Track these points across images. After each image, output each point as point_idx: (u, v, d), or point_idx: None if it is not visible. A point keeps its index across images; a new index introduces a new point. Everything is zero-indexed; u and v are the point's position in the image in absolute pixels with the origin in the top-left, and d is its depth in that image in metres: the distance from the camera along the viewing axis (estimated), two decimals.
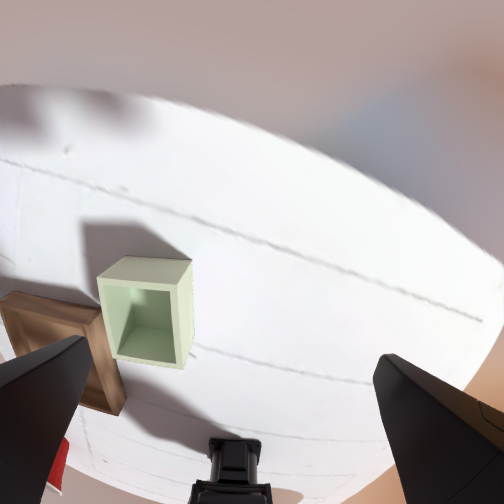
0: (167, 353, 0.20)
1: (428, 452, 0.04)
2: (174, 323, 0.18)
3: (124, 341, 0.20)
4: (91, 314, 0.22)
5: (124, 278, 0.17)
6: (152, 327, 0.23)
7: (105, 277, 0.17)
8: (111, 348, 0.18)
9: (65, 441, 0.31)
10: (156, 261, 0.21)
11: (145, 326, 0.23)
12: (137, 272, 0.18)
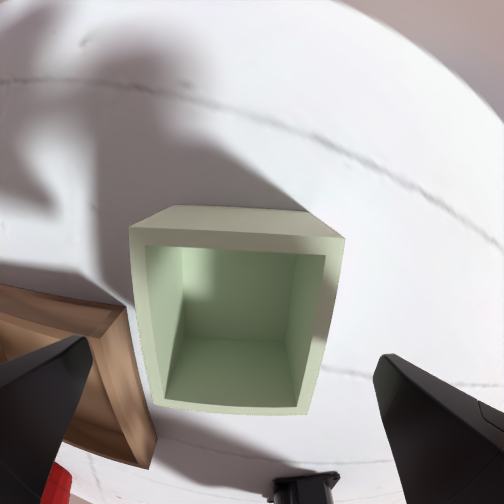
0: (268, 387, 0.10)
1: (428, 452, 0.04)
2: (318, 329, 0.08)
3: (173, 369, 0.11)
4: (102, 317, 0.12)
5: (205, 228, 0.07)
6: (219, 337, 0.13)
7: (152, 226, 0.07)
8: (153, 388, 0.09)
9: (67, 474, 0.21)
10: (245, 209, 0.11)
11: (205, 336, 0.13)
12: (226, 220, 0.09)
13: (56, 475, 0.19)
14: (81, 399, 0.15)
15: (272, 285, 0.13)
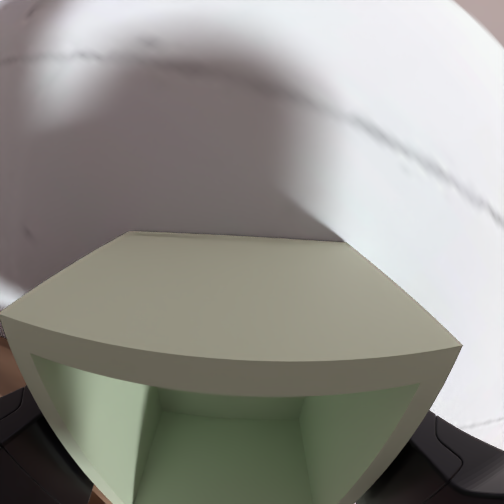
0: (277, 497, 0.05)
1: None
2: (370, 473, 0.03)
3: (143, 466, 0.06)
4: None
5: (136, 337, 0.03)
6: (207, 414, 0.09)
7: (33, 318, 0.03)
8: (114, 502, 0.04)
9: None
10: (243, 243, 0.07)
11: (188, 412, 0.09)
12: (198, 289, 0.04)
13: None
14: None
15: None
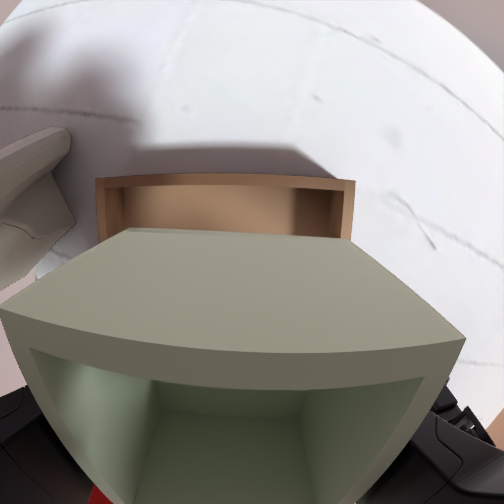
0: (278, 496, 0.05)
1: None
2: (373, 470, 0.03)
3: (143, 465, 0.06)
4: None
5: (135, 328, 0.03)
6: (208, 413, 0.09)
7: (32, 312, 0.02)
8: (114, 501, 0.04)
9: None
10: (244, 239, 0.06)
11: (189, 411, 0.08)
12: (199, 282, 0.04)
13: None
14: None
15: None
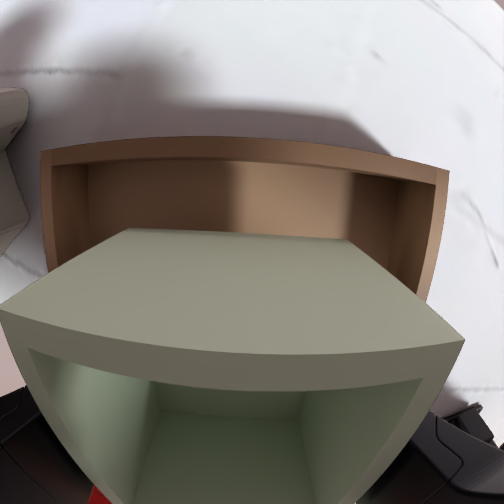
0: (277, 496, 0.05)
1: None
2: (372, 471, 0.03)
3: (143, 465, 0.06)
4: None
5: (133, 330, 0.03)
6: (207, 413, 0.09)
7: (31, 312, 0.02)
8: (113, 501, 0.04)
9: None
10: (243, 240, 0.06)
11: (188, 411, 0.08)
12: (198, 283, 0.04)
13: None
14: None
15: None
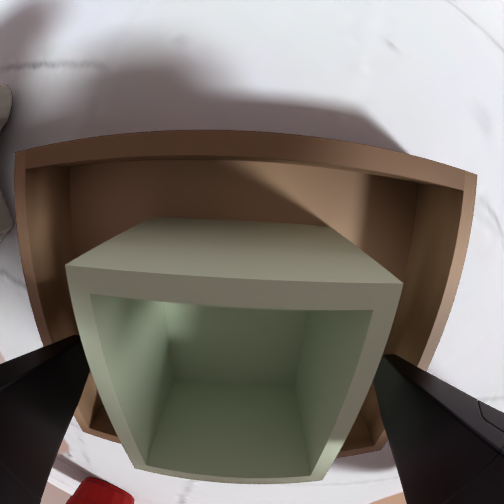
0: (275, 450, 0.07)
1: (428, 452, 0.04)
2: (350, 403, 0.05)
3: (157, 425, 0.08)
4: None
5: (178, 270, 0.04)
6: (213, 380, 0.10)
7: (98, 265, 0.04)
8: (130, 455, 0.06)
9: (130, 499, 0.16)
10: (246, 225, 0.08)
11: (197, 379, 0.10)
12: (215, 248, 0.06)
13: (117, 503, 0.15)
14: None
15: (280, 321, 0.09)
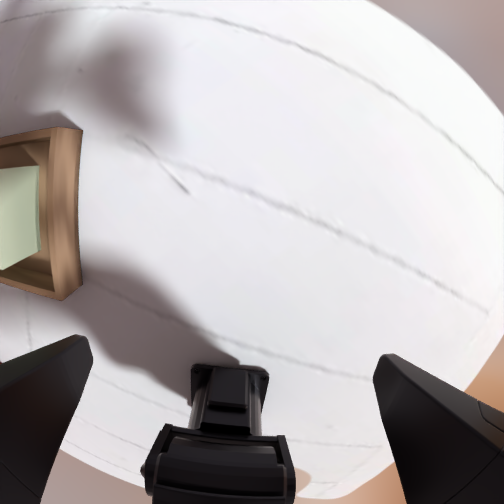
0: None
1: (428, 452, 0.04)
2: None
3: None
4: None
5: None
6: None
7: None
8: None
9: None
10: None
11: None
12: None
13: None
14: None
15: None
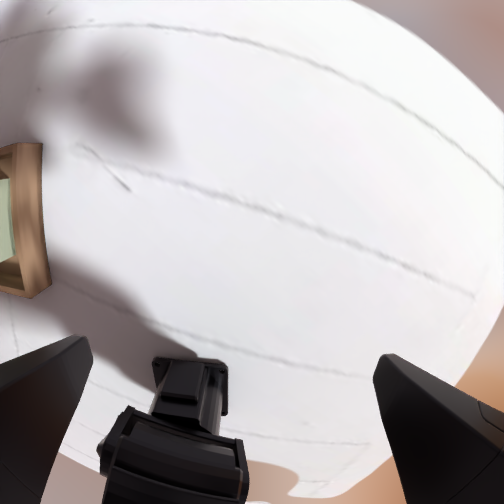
0: None
1: (428, 452, 0.04)
2: None
3: None
4: None
5: None
6: None
7: None
8: None
9: None
10: None
11: None
12: None
13: None
14: None
15: None
